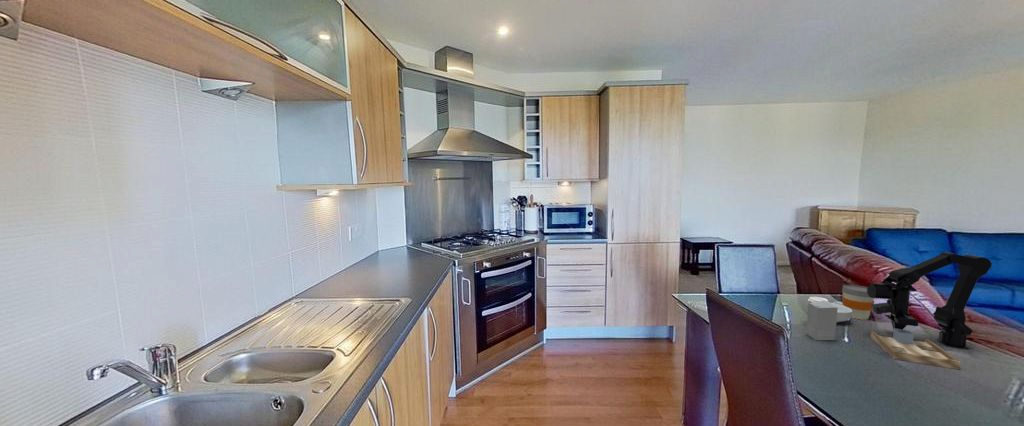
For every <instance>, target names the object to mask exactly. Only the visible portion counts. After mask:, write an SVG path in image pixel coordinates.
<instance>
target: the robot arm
mask: <svg viewBox="0 0 1024 426" xmlns="http://www.w3.org/2000/svg"><path fill="white" fill-rule="evenodd" d="M951 264H957V269H958V270H957V271H958V273H959V275H958V277H957V279H956V281H955V283H954V286H953V288H952V290H951V293H950V295H949V297H948V300H947V302H946V303H945V305H943V306H941V307H940V306H936V307H935V311H934V313H933V314H932V315H933V319H934V321H935V322H936V323H937V326H938V327H940V328H941V329H940V330H941V331H939V333H938V338H937V341H939V342H940V343H942V344H943V345H944V346H946V347H947V346H948V347H954V348H961V349H967V350H968V349H969V346H967V337H968V336H971V335H972V333H973V331H974V330H973V329H972V328H970V326H968V325H966V320H967V316H966V314H965V308H966V306H967V304H968V302H969V299H970V297H971V295H972V293H973V290H974V288H975V287H976V284H977V282H978V281H979V279H980V278H982V277H983V276H985V275H986V274H988V272H989V270H990V269H991V268H992V264H993V263H992V262H991V260H990V259H989V258H988V257H987V258H986V257H983V256H979V255H973V254H964V255H961V254H957V253H953V252H948V251H944V252H941V253H940V254H938V255H936V256H933V257H931V258H929V259H927V260H925V261H922V262H920V263H918V264H915V265H911V266H910V267H903V268H902V267H901V268H898V269H894V270H891V271H890V272H889V274H888V276H887V277H886V278H885V279H883V280H882V281H881V283H880V282H878V283H877V282H871V283H870V285H869V286H868V288H867V293H868V295H869V297H871V298H874V299H880V300H881V299H883V300H886V302H878V303H874V304H872V305H871V307H872V311H873V313H875V315H882V314H885V317H886V318H888V319H889V320H890V323H891V326H892V329H893V331H894V328H895V329H902V330H905V328H906V327H908V326H910V327H911V326H912V327H919V321H918V320H917V319H916V318H914V317H913V316H911V313H910V312H909V308H910V307H912V304H911V303H910V295H911V292H918V290H917V288H914V286H913V285H914V284H916V283H917V282H919V281H920V279H921V278H922V277H924V276H926V275H929V274H931V273H933V272H936V271H938V270H940V269H943V268H945V267H947V266H949V265H951Z"/></svg>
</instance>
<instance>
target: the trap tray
mask: <svg viewBox="0 0 1024 426" xmlns="http://www.w3.org/2000/svg"><path fill="white" fill-rule="evenodd" d="M870 338H871V340H872V341H874V342H875V343H876V344H877V345H878V346H879V347H880V348H881V349H882V350H883V351H884V352H885V353H886V354H888V355H889V356H890V357H891V358H892V359H893V360H898V361H906V362H910V363H918V364H924V365H929V366H936V367H941V368H942V367H943V368H947V369H954V370H961V361H960V360H959V359H957V358H956V357H954V355H951V354H950V353H949V352H948V351H945V350H944V349H943V348H942V347H940V346H939V345H937V344H936V343H934V342H933V341H931V340H930V339H929V338H925V339H924V341H920V340H919V341H918V340H913V344H906V343H899V342H897V341H896V340H895V339H893V336H892V337H891V336H883V335H879V334H877V332H875V331H874V330H873V331H870Z"/></svg>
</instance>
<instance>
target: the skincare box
mask: <svg viewBox="0 0 1024 426" xmlns="http://www.w3.org/2000/svg"><path fill="white" fill-rule="evenodd" d="M830 303H831V302H829V303H827V302H817V303H816V302H814V303H810V302H809V301H808V303H807V304H808V306H807V320H806V333H805V334H806V335H807V337H810V338H812V339H813V340H815V341H836V333H837V331H836V330H837V323H838V322H837V310H838V308H837V307H836V306H833V305H832V304H830Z"/></svg>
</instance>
